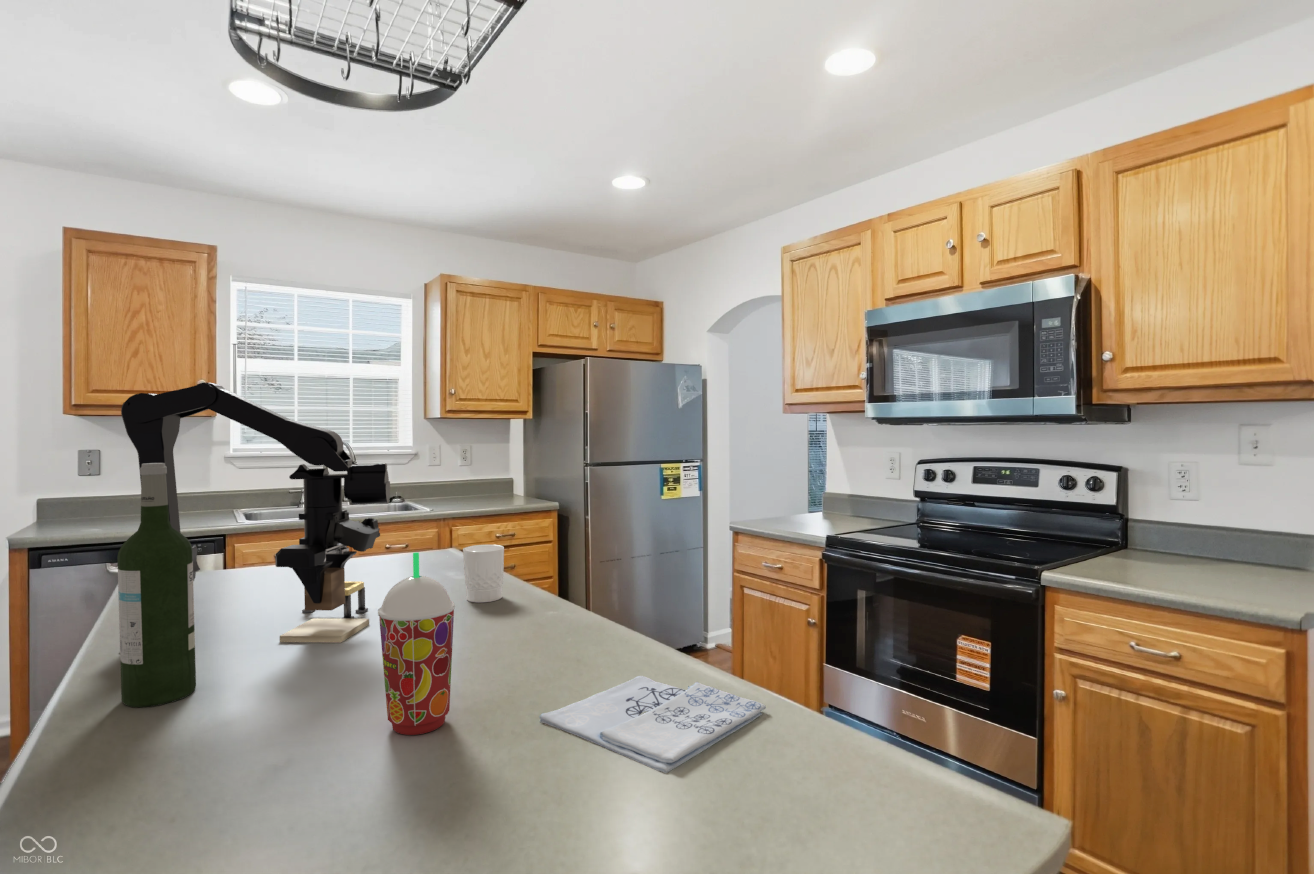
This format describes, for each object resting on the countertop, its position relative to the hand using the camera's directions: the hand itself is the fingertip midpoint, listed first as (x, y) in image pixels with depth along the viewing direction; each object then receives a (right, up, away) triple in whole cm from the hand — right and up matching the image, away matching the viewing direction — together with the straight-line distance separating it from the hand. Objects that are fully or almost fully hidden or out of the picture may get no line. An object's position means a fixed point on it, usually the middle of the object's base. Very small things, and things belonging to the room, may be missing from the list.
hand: (324, 599), depth 119 cm
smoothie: (+28, -7, -36) cm, 46 cm away
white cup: (+21, -5, +22) cm, 31 cm away
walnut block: (0, -1, 0) cm, 1 cm away
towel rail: (-4, -5, +11) cm, 13 cm away
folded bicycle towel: (+55, -7, -34) cm, 65 cm away
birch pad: (0, -6, 0) cm, 6 cm away
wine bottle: (-9, -7, -26) cm, 29 cm away
